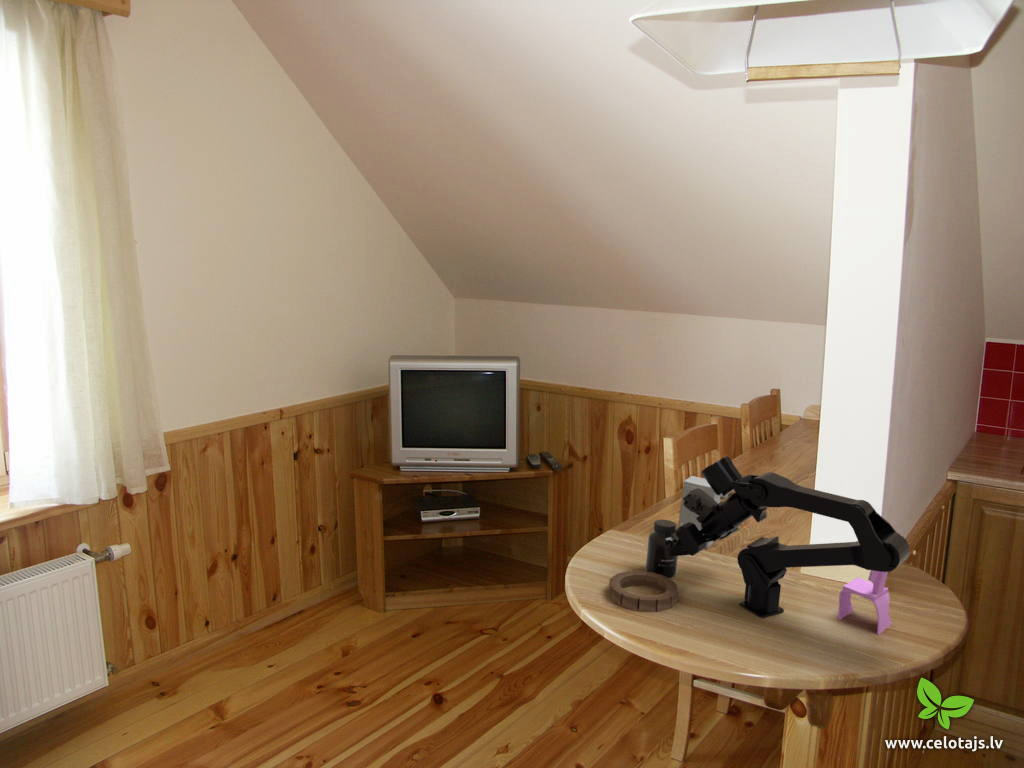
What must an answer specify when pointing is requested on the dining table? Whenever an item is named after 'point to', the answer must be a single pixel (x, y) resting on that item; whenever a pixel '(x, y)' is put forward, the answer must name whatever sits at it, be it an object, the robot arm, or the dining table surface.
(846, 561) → the robot arm
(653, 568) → the supplement bottle
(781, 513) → the dining table surface
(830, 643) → the dining table surface
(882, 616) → the toy chair
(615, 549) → the dining table surface
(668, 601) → the segmented ring
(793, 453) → the dining table surface
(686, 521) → the skincare box
